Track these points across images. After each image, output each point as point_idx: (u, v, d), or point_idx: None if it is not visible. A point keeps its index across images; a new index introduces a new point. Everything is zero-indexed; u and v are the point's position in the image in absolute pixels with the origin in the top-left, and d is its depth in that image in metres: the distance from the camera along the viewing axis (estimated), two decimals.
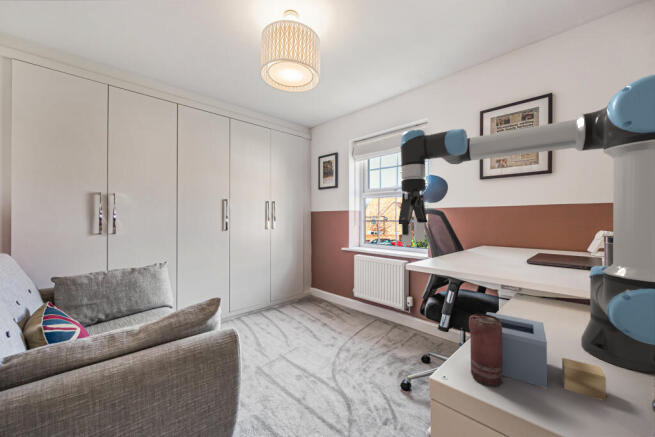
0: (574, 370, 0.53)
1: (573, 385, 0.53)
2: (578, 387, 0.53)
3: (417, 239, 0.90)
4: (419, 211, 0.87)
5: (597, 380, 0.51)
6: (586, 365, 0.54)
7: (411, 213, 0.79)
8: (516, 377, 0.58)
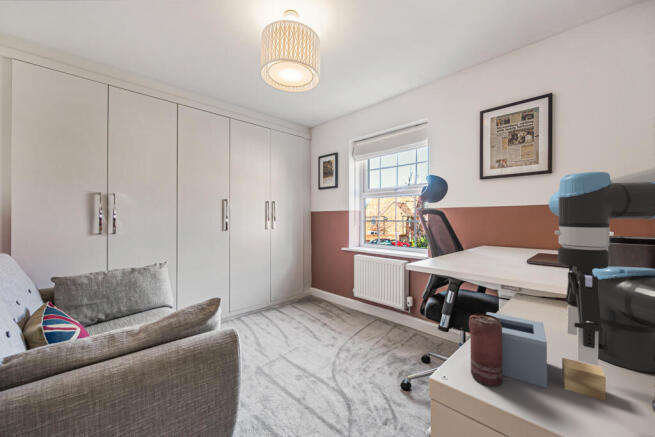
0: (574, 370, 0.53)
1: (573, 385, 0.53)
2: (578, 387, 0.53)
3: (570, 331, 0.59)
4: None
5: (597, 380, 0.51)
6: (586, 365, 0.54)
7: None
8: (516, 377, 0.58)
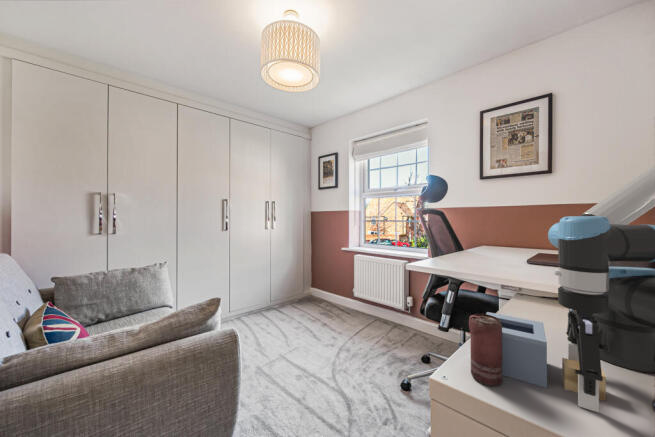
0: (574, 370, 0.53)
1: (573, 385, 0.53)
2: None
3: None
4: None
5: None
6: None
7: None
8: (516, 377, 0.58)
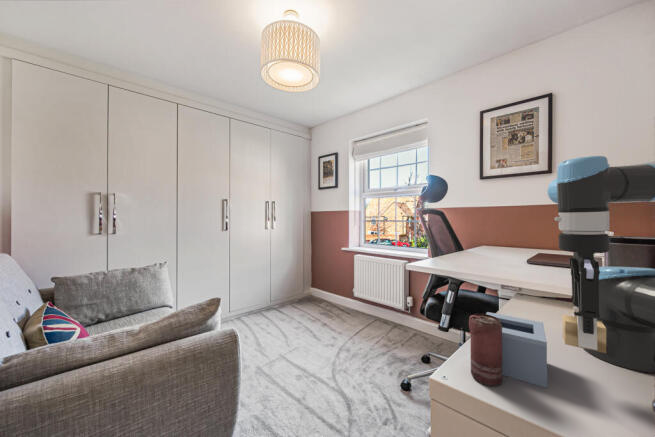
0: (574, 324, 0.53)
1: (573, 339, 0.53)
2: None
3: None
4: None
5: (597, 332, 0.51)
6: None
7: None
8: (516, 377, 0.58)
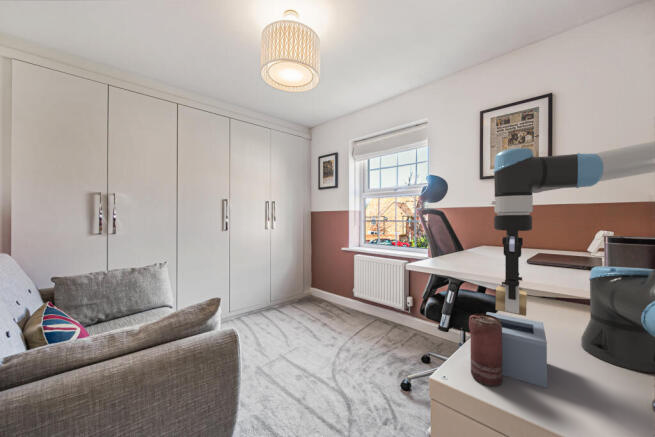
0: (503, 292, 0.62)
1: (502, 305, 0.62)
2: None
3: None
4: None
5: (520, 298, 0.60)
6: None
7: None
8: (516, 377, 0.58)
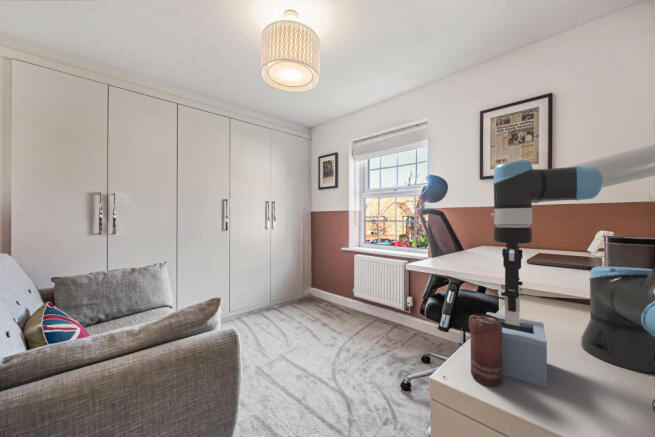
0: None
1: None
2: None
3: None
4: None
5: None
6: None
7: (518, 280, 0.58)
8: (516, 377, 0.58)
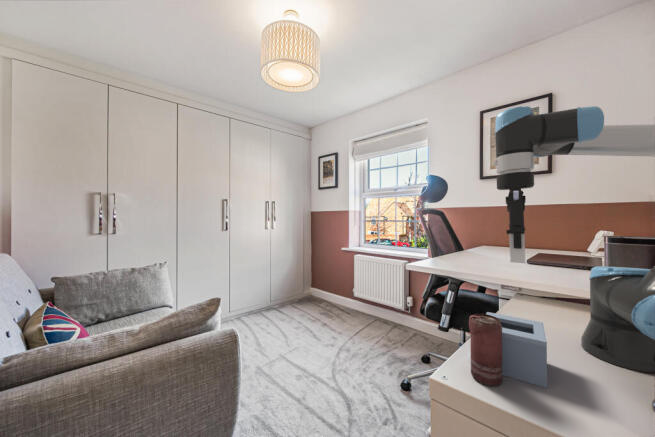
0: None
1: None
2: None
3: None
4: None
5: None
6: None
7: None
8: (516, 377, 0.58)
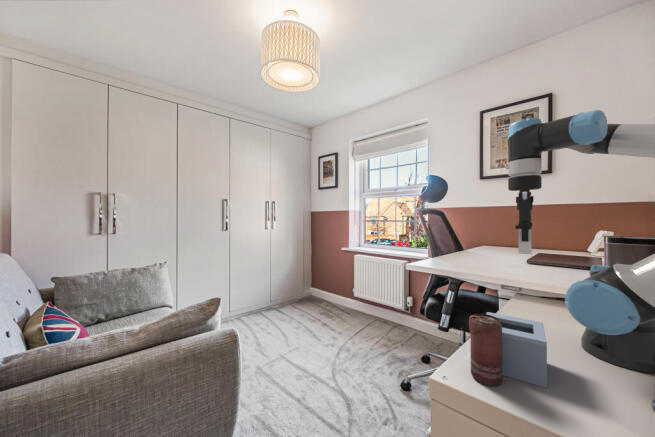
0: None
1: None
2: None
3: None
4: None
5: None
6: None
7: None
8: (516, 377, 0.58)
